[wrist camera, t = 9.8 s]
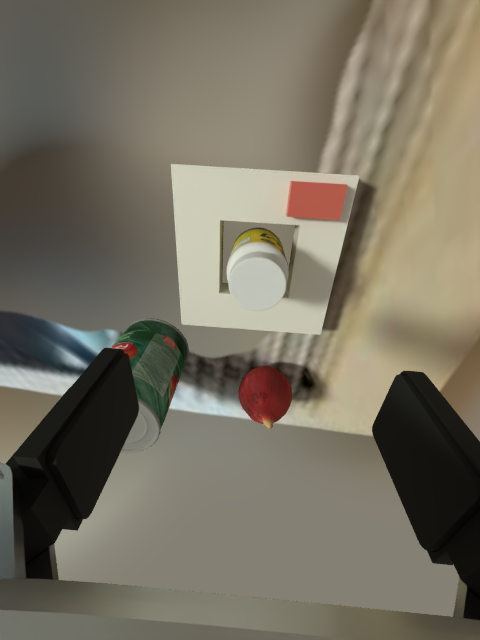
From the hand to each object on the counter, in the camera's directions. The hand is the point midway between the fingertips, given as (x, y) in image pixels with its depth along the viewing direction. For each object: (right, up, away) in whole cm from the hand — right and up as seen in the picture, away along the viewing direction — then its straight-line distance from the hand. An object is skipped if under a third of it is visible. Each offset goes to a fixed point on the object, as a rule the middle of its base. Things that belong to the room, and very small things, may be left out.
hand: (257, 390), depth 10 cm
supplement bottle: (+1, +9, +16) cm, 18 cm away
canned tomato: (-11, -1, +22) cm, 25 cm away
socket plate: (+1, +9, +16) cm, 18 cm away
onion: (+2, -4, +23) cm, 24 cm away
